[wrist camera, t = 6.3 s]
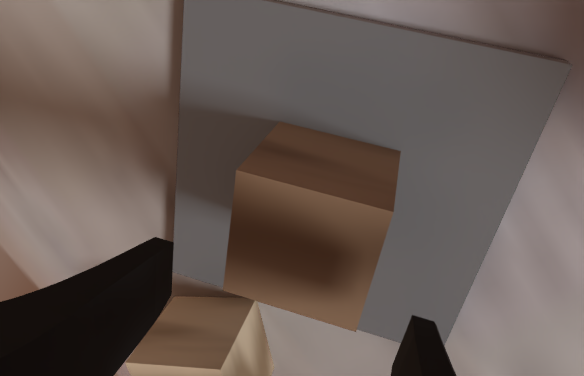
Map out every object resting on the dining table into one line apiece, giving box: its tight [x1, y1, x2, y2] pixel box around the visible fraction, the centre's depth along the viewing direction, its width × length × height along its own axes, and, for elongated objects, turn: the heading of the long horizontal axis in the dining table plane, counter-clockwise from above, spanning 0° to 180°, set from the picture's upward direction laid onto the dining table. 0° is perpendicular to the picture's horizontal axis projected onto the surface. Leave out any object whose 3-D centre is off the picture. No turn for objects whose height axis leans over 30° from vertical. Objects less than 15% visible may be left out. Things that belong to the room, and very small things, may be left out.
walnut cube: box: [223, 122, 401, 332], centre depth 17 cm, size 5×5×5 cm
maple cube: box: [125, 296, 274, 376], centre depth 24 cm, size 5×5×5 cm
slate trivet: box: [172, 0, 572, 345], centre depth 20 cm, size 14×14×1 cm
